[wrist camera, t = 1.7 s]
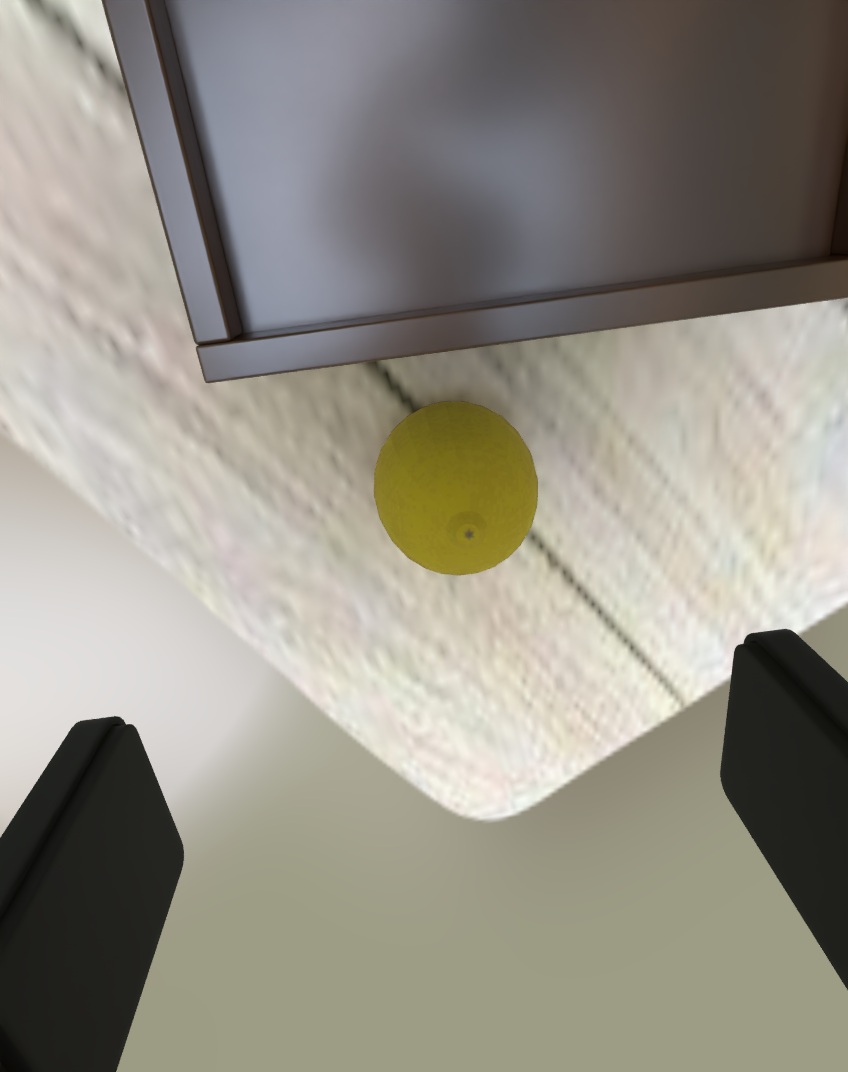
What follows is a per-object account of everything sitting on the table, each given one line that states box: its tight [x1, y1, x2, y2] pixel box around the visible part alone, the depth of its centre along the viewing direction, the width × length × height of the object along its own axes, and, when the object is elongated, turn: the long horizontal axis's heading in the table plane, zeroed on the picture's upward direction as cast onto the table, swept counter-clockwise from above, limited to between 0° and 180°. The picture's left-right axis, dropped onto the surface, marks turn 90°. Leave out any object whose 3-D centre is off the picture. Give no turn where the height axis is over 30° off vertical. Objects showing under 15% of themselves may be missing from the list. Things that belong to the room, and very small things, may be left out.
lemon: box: [374, 401, 538, 575], centre depth 21 cm, size 6×6×8 cm
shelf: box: [102, 0, 848, 383], centre depth 16 cm, size 15×11×10 cm
